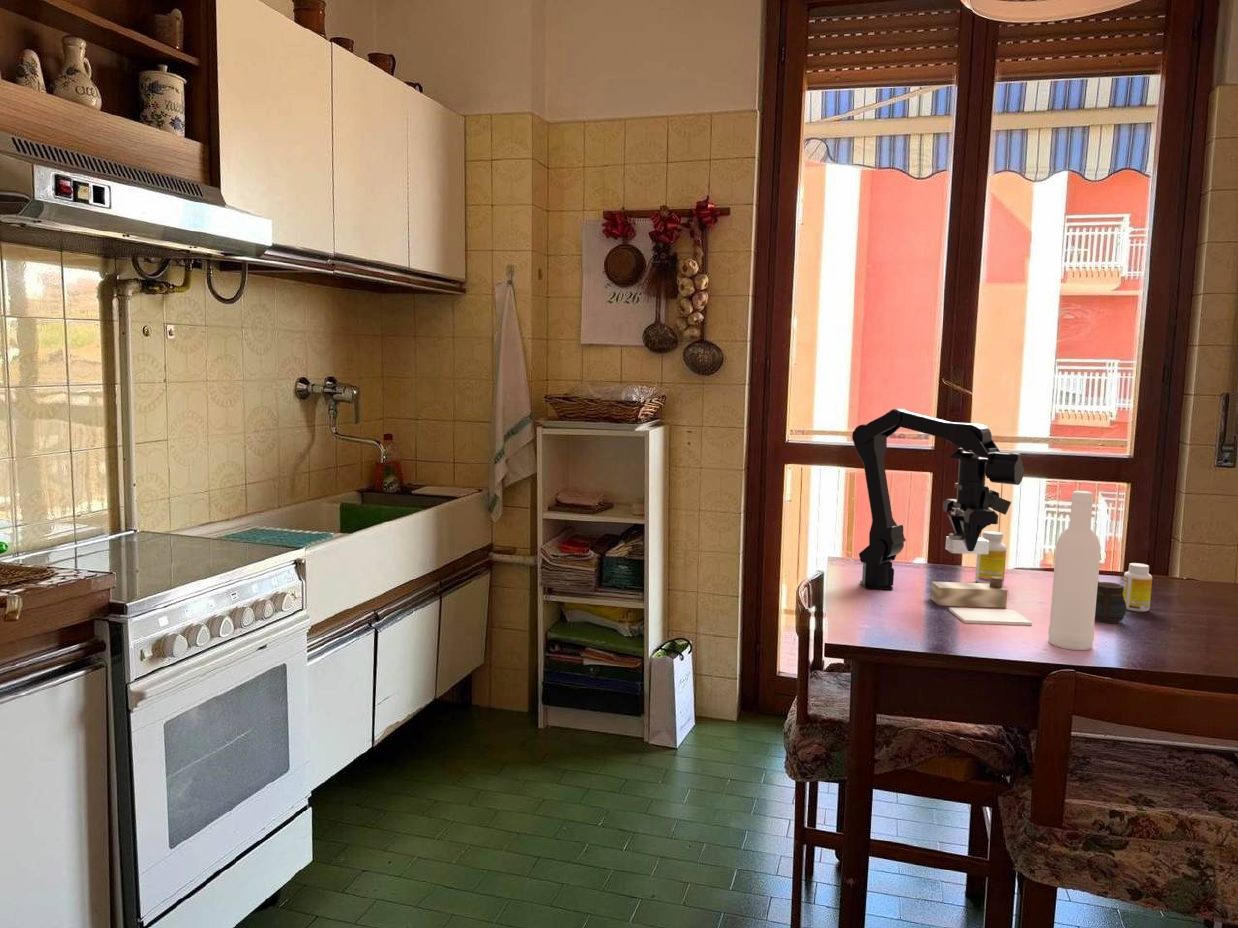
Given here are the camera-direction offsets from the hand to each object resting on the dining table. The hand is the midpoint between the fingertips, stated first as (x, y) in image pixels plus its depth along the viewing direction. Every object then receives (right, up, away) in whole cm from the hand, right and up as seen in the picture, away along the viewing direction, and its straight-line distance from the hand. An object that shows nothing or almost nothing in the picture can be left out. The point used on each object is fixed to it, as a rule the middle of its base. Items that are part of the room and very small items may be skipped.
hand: (966, 549), depth 208 cm
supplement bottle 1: (+14, -11, +23) cm, 29 cm away
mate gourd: (+26, -15, -10) cm, 32 cm away
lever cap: (0, -1, 0) cm, 1 cm away
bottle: (+10, -16, -28) cm, 34 cm away
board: (+1, -14, -10) cm, 17 cm away
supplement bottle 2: (+38, -14, +1) cm, 41 cm away
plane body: (+1, -12, +2) cm, 13 cm away
